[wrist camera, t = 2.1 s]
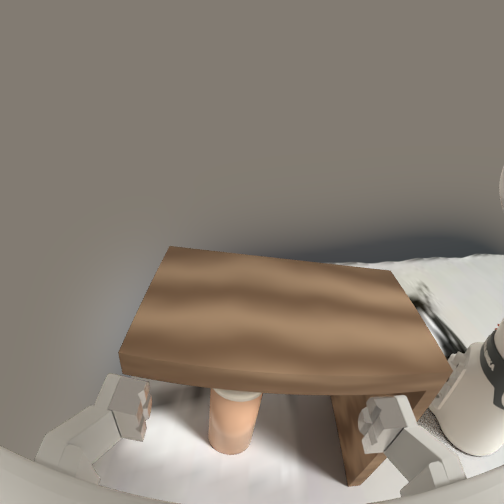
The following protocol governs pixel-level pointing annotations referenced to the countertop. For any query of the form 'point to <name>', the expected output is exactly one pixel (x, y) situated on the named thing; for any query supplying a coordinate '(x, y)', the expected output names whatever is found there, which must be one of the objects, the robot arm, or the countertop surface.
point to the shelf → (286, 336)
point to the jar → (232, 419)
